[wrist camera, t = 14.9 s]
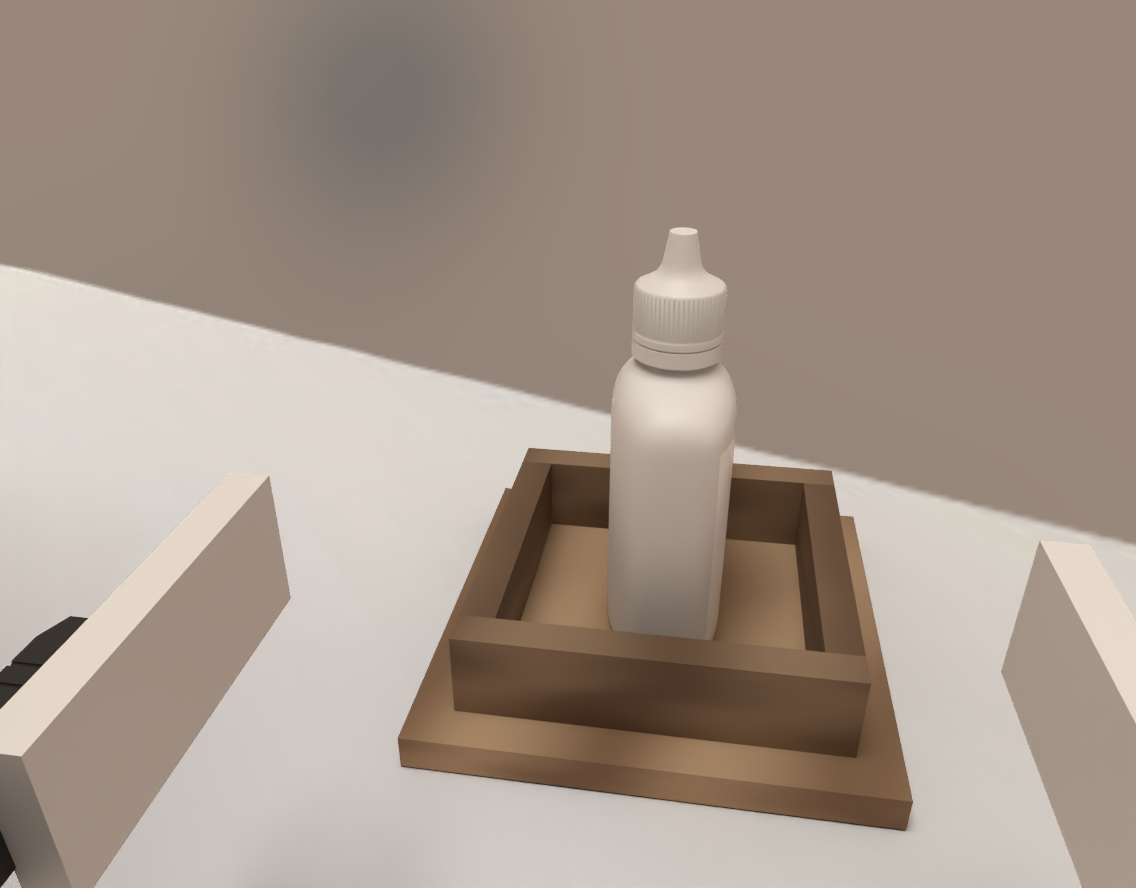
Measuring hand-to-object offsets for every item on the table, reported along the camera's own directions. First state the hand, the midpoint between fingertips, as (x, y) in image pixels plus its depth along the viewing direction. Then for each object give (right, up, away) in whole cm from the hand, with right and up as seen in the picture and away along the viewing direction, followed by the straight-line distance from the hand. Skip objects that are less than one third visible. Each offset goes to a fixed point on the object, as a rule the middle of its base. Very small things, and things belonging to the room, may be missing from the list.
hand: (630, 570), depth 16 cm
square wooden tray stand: (+2, -4, +13) cm, 14 cm away
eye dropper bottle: (+2, -3, +13) cm, 13 cm away
